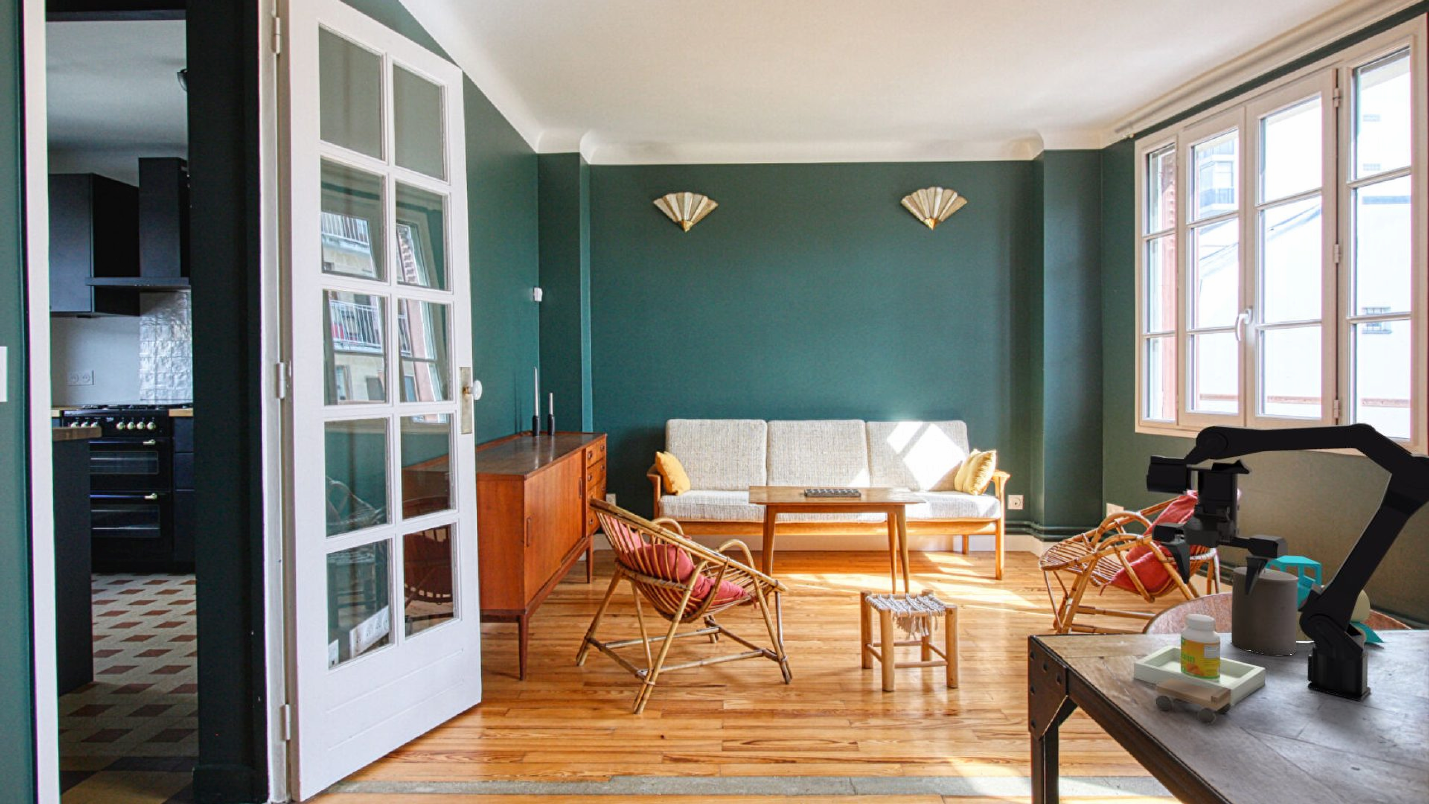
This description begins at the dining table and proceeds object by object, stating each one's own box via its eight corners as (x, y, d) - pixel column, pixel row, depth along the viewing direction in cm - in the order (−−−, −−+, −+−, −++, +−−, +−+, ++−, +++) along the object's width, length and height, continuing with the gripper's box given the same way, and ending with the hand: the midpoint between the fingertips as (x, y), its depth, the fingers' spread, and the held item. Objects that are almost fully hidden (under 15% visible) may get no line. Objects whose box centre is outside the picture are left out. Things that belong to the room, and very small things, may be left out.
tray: (1265, 683, 120) (1265, 668, 120) (1232, 706, 112) (1232, 689, 111) (1170, 658, 131) (1170, 644, 131) (1133, 677, 123) (1134, 662, 123)
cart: (1232, 714, 109) (1232, 687, 109) (1215, 726, 105) (1215, 699, 105) (1172, 696, 115) (1172, 671, 115) (1153, 707, 111) (1153, 681, 111)
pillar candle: (1232, 650, 135) (1234, 568, 135) (1229, 634, 144) (1231, 557, 143) (1300, 661, 130) (1302, 575, 130) (1292, 644, 139) (1295, 564, 138)
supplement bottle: (1172, 671, 124) (1172, 613, 124) (1203, 670, 124) (1203, 612, 124) (1196, 684, 118) (1196, 623, 118) (1228, 682, 119) (1228, 621, 119)
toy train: (1387, 649, 136) (1388, 567, 136) (1283, 643, 139) (1284, 563, 139) (1360, 635, 144) (1361, 558, 143) (1262, 630, 147) (1263, 554, 147)
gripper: (1138, 496, 130) (1137, 585, 130) (1266, 510, 115) (1264, 610, 116) (1165, 491, 137) (1164, 575, 137) (1289, 503, 122) (1288, 598, 122)
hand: (1216, 589), depth 128 cm, fingers open, 9 cm apart
